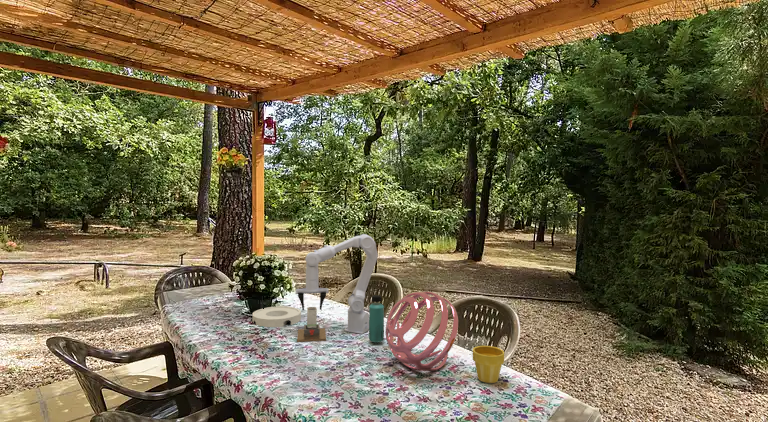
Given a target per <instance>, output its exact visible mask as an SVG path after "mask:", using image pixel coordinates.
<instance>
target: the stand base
mask: <svg viewBox="0 0 768 422" xmlns="http://www.w3.org/2000/svg"><path fill="white" fill-rule="evenodd" d="M296 338H297V339H296V340H297V341H296V342H297V343H306V342H307V343H308V342H310V343H311V342H325V341H327V332H326V328H323V327H322V328H320V324H318V323H317V328H307V324H303V328H301V329H300V328H299V329H298V330H297V337H296Z"/></svg>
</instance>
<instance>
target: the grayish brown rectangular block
mask: <svg viewBox="0 0 768 422" xmlns="http://www.w3.org/2000/svg"><path fill="white" fill-rule="evenodd" d="M317 309H318V307H316V306H308V307H307V311H306V312H307V313H306V325H307V328H317V324H318V323H317V318H318V317H317V315H318V312H317V311H318V310H317Z"/></svg>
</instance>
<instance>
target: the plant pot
mask: <svg viewBox="0 0 768 422" xmlns="http://www.w3.org/2000/svg"><path fill="white" fill-rule="evenodd" d="M472 360H473V362H474V365H475V369H476V375H477V379H478V381H480V382H482V383H484V384H485V383H487V384H495V383H498V381H499V377H500V373H501V369H502V367H503V364H504V363H505V351H504V350H502V349H501V348H499V347H496V346H490V345H479V346H475V347H473V348H472Z"/></svg>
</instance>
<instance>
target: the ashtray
mask: <svg viewBox="0 0 768 422" xmlns="http://www.w3.org/2000/svg"><path fill="white" fill-rule="evenodd" d="M251 319H252V322H253V323H254V322H255V323H254V324H255V326H257V325H259V326H258V327H261V326H264V327H263V328H281V327H284V326H286V325H287V324H288V323H289V322H290V325H291V326H292V325H294V324H295V325H296V324H298V323H299V322H300V321H301V320H302V311H301V309H299V308H297V307H293V306H268V307H264V309H263V308H260V309H257V310H254V311H253V312H252V318H251ZM253 323H252V324H253Z"/></svg>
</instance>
